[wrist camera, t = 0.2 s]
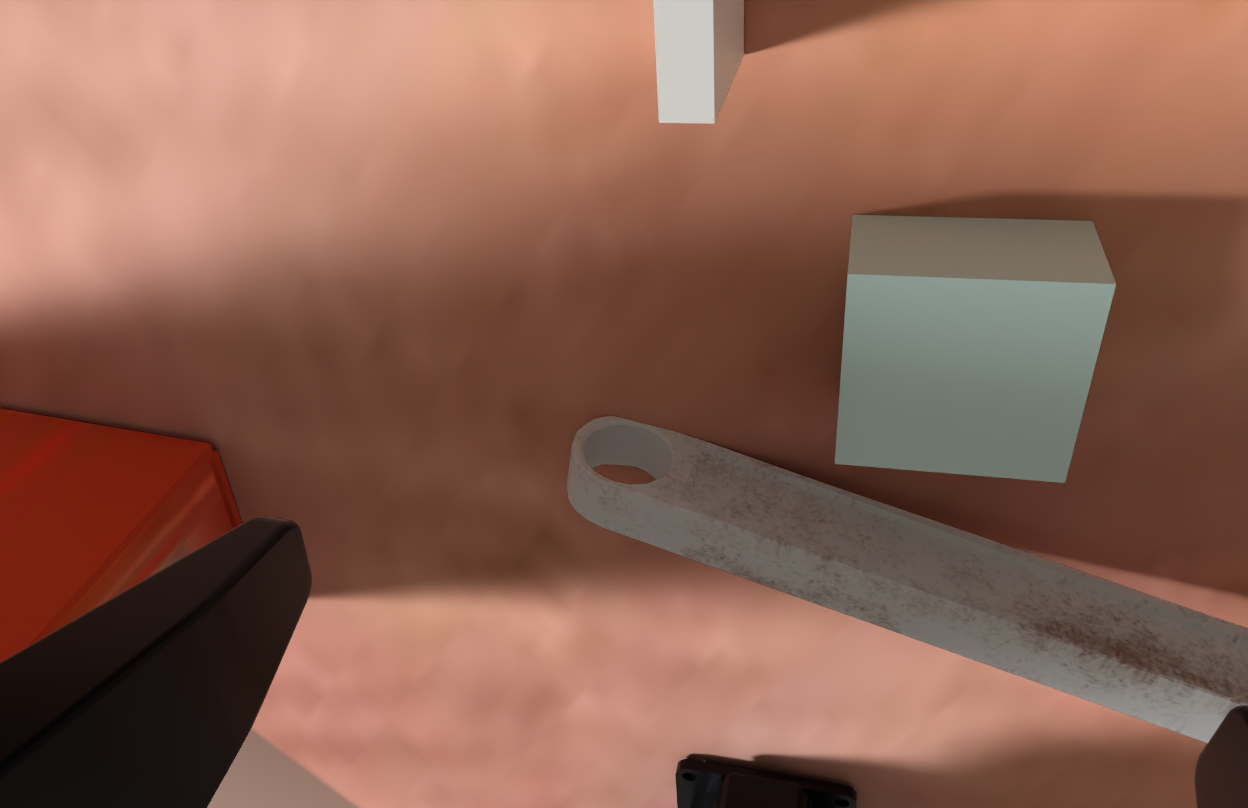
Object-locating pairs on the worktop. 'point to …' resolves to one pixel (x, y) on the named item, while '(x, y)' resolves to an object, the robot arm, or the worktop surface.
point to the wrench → (914, 576)
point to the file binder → (95, 516)
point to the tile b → (970, 343)
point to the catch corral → (696, 56)
